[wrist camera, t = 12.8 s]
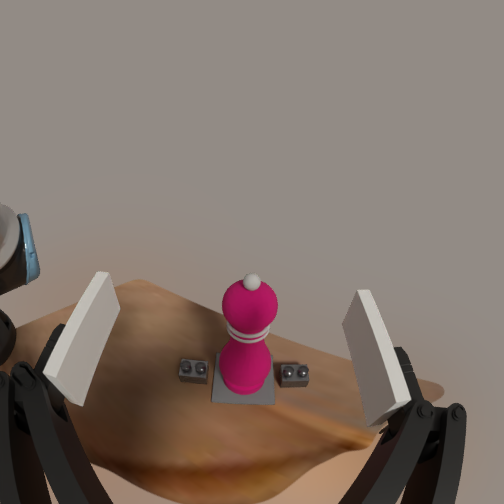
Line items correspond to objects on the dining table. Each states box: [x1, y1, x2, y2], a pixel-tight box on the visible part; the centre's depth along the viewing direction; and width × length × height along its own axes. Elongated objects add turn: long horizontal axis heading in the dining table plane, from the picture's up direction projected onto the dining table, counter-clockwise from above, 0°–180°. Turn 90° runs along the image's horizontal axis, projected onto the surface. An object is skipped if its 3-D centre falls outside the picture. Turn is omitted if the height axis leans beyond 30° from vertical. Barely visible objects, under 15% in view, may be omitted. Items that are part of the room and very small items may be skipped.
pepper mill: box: [219, 273, 278, 395], centre depth 32 cm, size 7×7×20 cm
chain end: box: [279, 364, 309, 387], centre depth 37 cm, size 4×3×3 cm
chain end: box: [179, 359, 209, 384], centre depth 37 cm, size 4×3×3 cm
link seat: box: [212, 353, 275, 405], centre depth 38 cm, size 9×9×1 cm
